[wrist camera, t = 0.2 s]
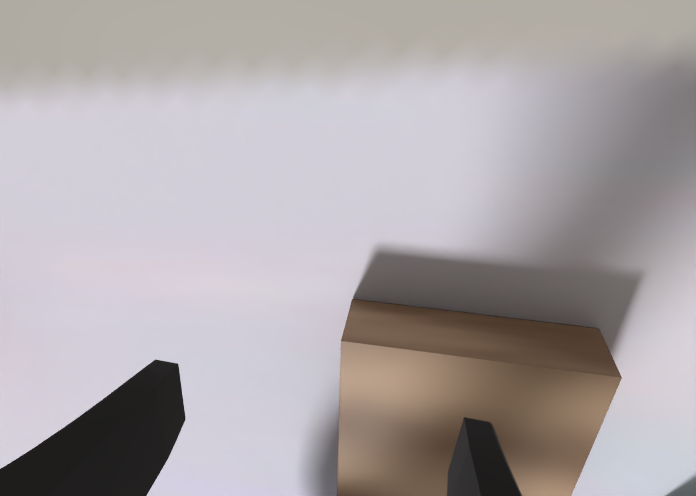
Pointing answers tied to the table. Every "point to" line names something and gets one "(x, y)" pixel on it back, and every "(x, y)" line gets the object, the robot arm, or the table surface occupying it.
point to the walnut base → (466, 397)
